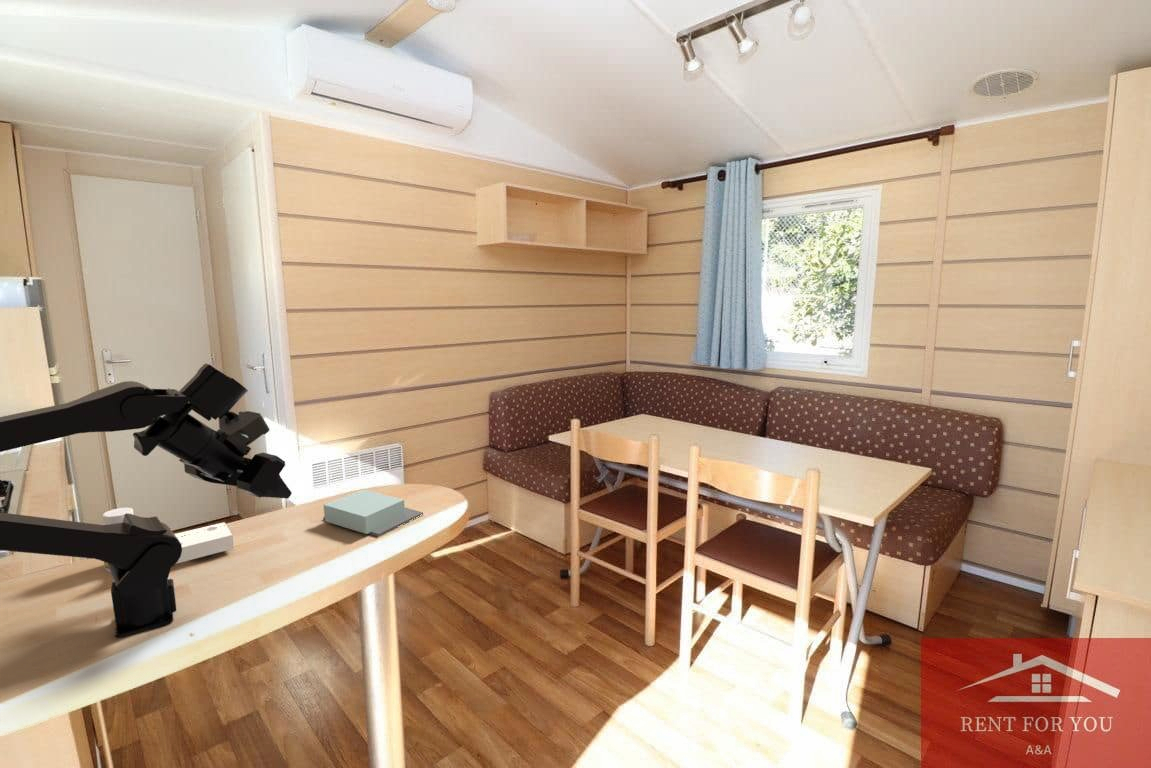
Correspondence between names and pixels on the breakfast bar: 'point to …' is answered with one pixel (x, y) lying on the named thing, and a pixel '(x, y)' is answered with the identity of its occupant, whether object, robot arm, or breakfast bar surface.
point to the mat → (396, 522)
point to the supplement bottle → (115, 519)
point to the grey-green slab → (364, 511)
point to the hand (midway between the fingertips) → (272, 490)
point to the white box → (204, 541)
